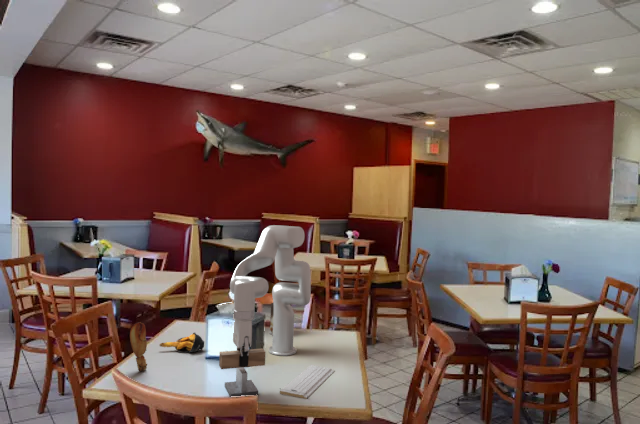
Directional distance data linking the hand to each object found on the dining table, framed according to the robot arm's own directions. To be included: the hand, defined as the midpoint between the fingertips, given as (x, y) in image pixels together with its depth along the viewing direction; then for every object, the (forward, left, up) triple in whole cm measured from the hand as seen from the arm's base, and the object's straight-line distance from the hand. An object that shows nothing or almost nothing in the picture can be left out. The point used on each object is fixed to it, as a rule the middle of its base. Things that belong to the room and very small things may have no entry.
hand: (242, 363), depth 184 cm
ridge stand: (0, 0, -10) cm, 10 cm away
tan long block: (0, 0, -1) cm, 1 cm away
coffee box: (-67, +35, -10) cm, 76 cm away
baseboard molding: (-1, +28, -11) cm, 30 cm away
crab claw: (-30, -34, -10) cm, 46 cm away
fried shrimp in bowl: (-50, -15, -10) cm, 54 cm away
